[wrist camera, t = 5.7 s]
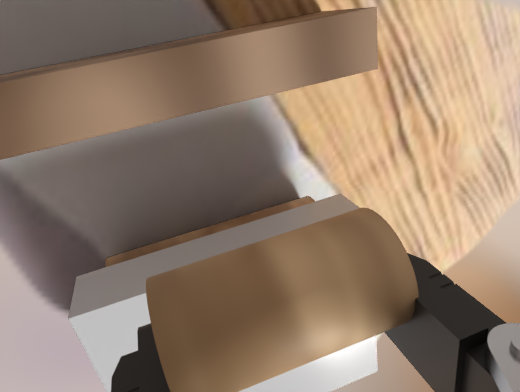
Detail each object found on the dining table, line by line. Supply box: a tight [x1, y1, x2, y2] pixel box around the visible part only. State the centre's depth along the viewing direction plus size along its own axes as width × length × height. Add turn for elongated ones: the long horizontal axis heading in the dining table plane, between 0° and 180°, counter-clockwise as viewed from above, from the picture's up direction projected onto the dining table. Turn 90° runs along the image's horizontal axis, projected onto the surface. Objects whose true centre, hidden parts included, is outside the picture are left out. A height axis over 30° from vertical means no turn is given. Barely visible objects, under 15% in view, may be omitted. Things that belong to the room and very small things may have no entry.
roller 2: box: [146, 208, 419, 392], centre depth 9 cm, size 6×3×3 cm
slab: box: [68, 194, 377, 392], centre depth 21 cm, size 14×11×3 cm
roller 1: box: [105, 196, 315, 267], centre depth 22 cm, size 12×4×4 cm, turn 99°
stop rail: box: [0, 7, 378, 160], centre depth 17 cm, size 17×2×5 cm, turn 99°
